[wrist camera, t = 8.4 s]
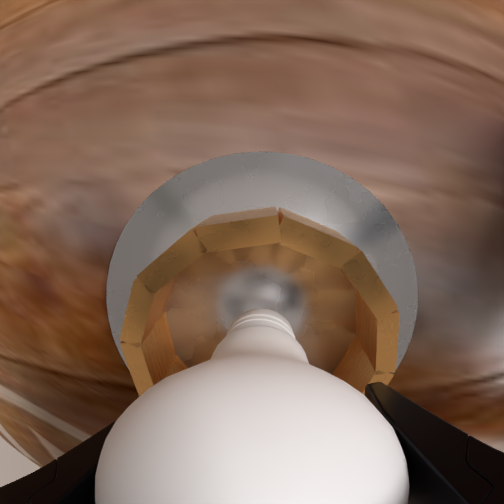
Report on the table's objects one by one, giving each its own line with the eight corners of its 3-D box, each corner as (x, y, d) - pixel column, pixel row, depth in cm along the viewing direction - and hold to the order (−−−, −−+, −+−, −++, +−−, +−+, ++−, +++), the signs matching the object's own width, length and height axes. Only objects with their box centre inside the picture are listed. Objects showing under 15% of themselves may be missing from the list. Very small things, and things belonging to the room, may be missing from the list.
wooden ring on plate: (399, 139, 12) (445, 127, 8) (399, 405, 15) (423, 453, 11) (89, 187, 13) (35, 193, 9) (159, 430, 16) (140, 478, 12)
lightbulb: (180, 372, 13) (88, 597, 3) (198, 240, 12) (-34, 480, 1) (312, 396, 13) (345, 627, 3) (354, 272, 12) (538, 521, 1)
